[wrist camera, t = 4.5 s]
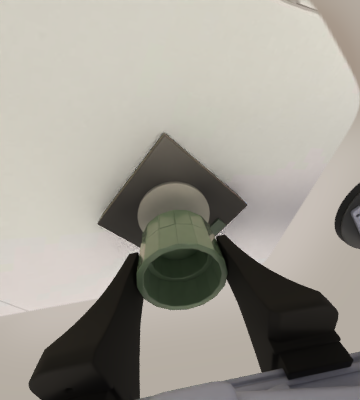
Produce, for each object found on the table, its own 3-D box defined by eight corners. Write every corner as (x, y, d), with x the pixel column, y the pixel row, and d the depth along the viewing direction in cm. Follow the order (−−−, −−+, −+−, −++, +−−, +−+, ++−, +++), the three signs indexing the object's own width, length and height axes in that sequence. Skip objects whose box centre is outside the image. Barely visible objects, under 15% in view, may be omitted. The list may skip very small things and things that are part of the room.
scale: (239, 196, 21) (250, 207, 19) (178, 257, 24) (180, 274, 22) (164, 132, 18) (164, 135, 15) (103, 213, 21) (95, 227, 18)
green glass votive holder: (222, 236, 16) (243, 279, 12) (173, 271, 17) (177, 320, 13) (181, 192, 14) (190, 226, 10) (128, 235, 15) (116, 281, 11)
